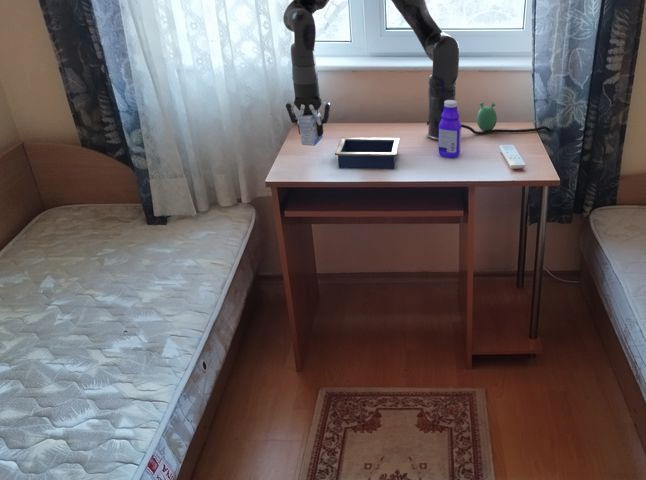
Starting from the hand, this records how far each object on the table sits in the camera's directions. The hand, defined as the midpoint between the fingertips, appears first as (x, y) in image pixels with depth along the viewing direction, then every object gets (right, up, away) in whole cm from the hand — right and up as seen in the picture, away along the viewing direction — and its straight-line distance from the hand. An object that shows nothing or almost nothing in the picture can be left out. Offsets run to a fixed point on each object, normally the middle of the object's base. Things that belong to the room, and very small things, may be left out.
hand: (311, 135), depth 212 cm
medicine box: (0, -2, +1) cm, 2 cm away
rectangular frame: (+18, -7, +3) cm, 20 cm away
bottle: (+44, -4, +8) cm, 45 cm away
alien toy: (+58, +11, +28) cm, 65 cm away
